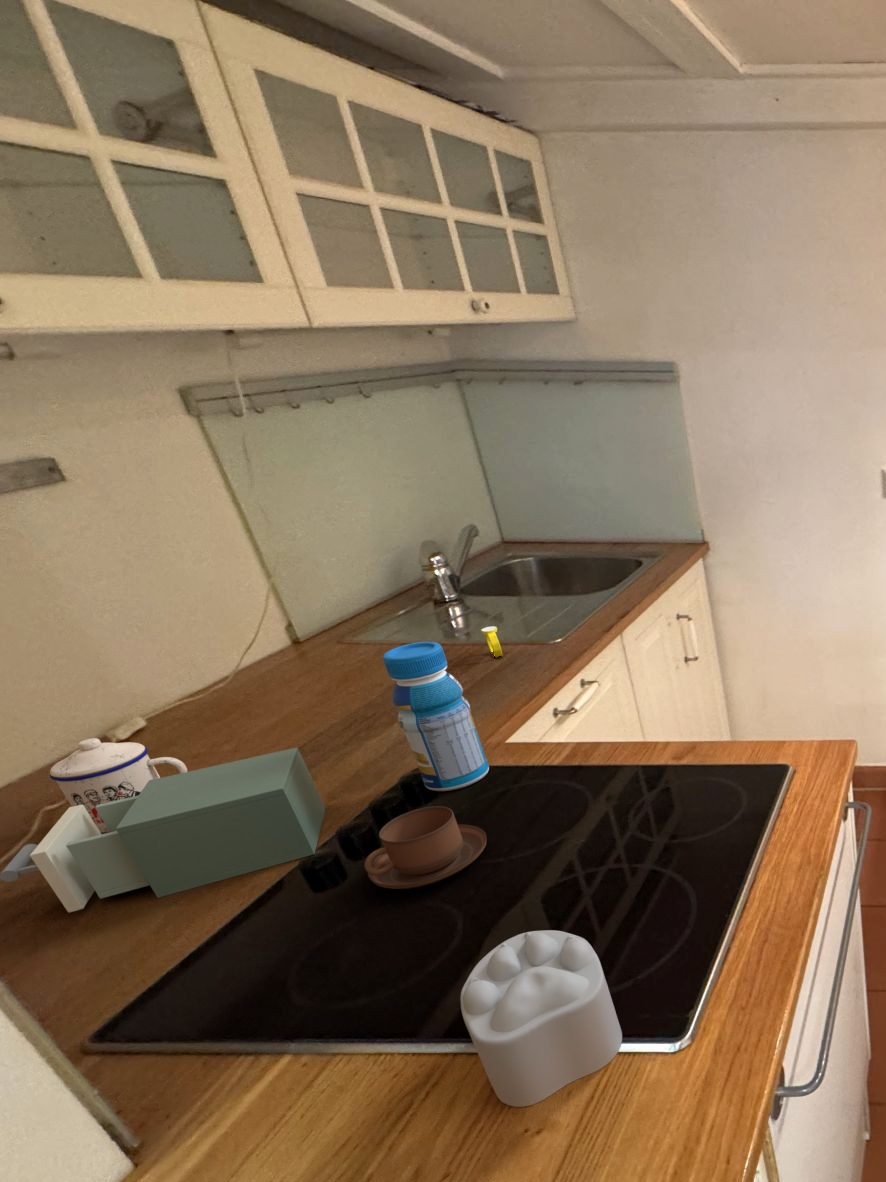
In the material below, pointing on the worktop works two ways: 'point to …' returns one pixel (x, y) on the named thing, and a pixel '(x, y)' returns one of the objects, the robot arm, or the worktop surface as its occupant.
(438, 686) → the beverage bottle
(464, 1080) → the worktop surface
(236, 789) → the cabinet
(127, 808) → the drawer
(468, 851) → the cup and saucer
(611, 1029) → the lumpy-topped squat cylinder
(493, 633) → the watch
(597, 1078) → the worktop surface
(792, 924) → the worktop surface
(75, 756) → the teacup with lid
